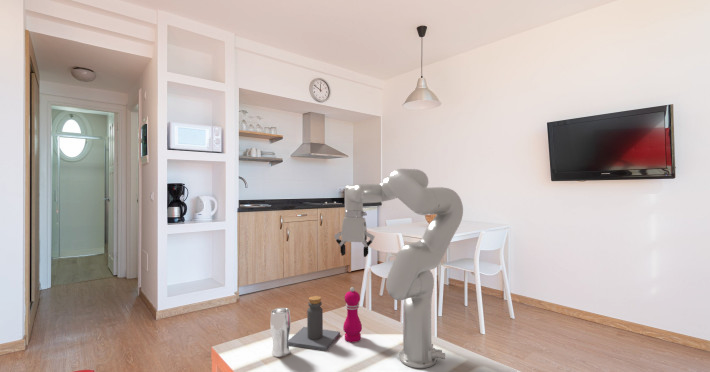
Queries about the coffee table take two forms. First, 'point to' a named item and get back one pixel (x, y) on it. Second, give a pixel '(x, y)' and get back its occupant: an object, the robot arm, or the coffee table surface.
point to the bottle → (315, 318)
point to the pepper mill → (352, 317)
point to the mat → (321, 344)
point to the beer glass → (280, 331)
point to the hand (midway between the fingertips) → (354, 255)
